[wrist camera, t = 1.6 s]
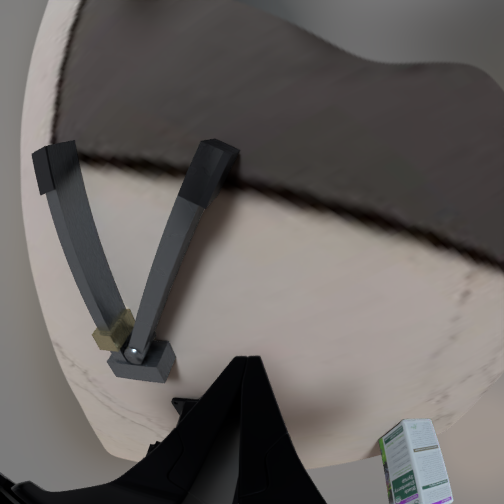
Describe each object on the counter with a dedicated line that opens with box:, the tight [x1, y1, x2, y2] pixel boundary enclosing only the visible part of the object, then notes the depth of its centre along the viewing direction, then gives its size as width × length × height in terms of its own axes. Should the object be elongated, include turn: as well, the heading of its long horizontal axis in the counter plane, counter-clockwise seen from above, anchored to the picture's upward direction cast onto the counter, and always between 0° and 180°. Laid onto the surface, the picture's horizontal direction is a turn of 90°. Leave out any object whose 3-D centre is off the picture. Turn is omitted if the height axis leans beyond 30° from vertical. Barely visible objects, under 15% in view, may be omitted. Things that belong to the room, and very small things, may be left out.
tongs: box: [32, 140, 176, 383], centre depth 18 cm, size 20×5×4 cm, turn 8°
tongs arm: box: [124, 139, 240, 364], centre depth 17 cm, size 17×2×3 cm, turn 153°
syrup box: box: [379, 419, 453, 504], centre depth 21 cm, size 6×6×14 cm
